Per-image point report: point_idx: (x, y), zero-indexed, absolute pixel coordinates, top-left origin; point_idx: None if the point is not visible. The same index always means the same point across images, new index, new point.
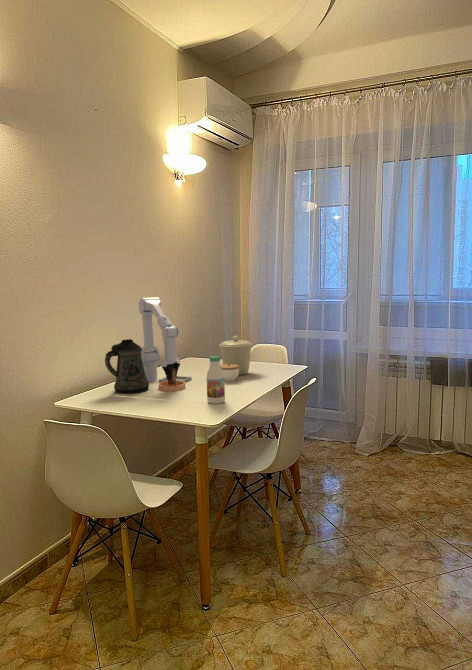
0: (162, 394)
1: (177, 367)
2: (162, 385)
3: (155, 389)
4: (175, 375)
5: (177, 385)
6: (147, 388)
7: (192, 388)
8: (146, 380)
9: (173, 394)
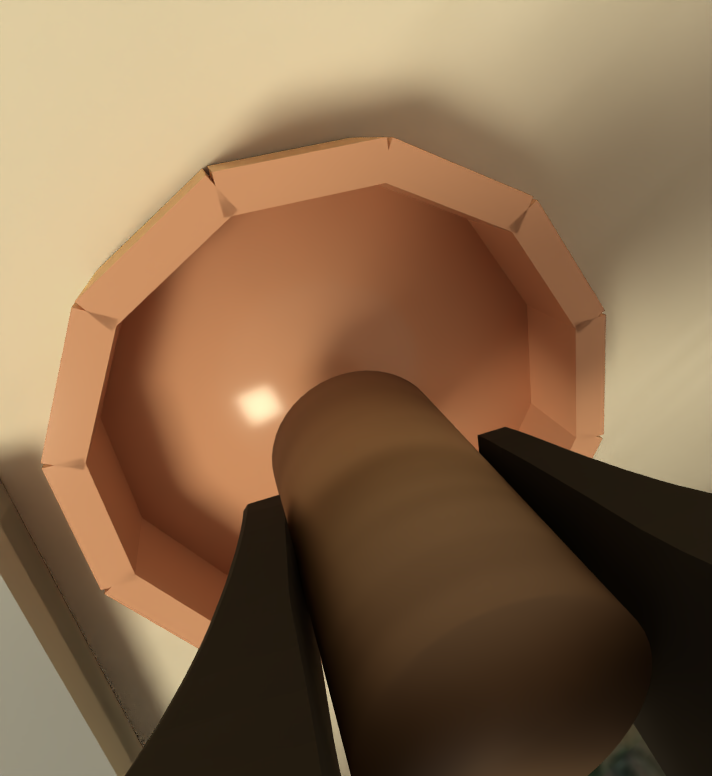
0: (677, 272)
1: (297, 717)
2: None
3: None
4: (385, 471)
5: (471, 203)
6: None
7: (42, 54)
8: None
9: (639, 96)
